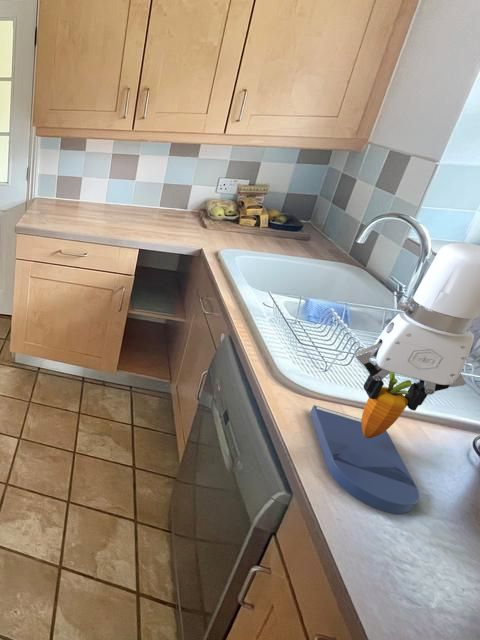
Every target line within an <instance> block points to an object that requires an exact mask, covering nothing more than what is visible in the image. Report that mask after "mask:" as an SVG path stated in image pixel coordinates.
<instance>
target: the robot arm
mask: <svg viewBox="0 0 480 640" xmlns="http://www.w3.org/2000/svg"><path fill="white" fill-rule="evenodd" d="M396 309H397V310H400V312H398V313H397V314H396V316H394V317H393V318H392V320H390V321H389V323H388V324H387V325H386V326H385V328H384V329H383V330H382V331H381V333H380V334H379V336H377V337H378V338H377V339H376V341H375V342H374V344H373V345H370V346H368V347H365V348H363V349H361V350H358V351H356V352H354V356H355V358H356V360H358V362H359V363H360V364H361V365H362V366H363V367H364V368H365V369H366V371H367V372H368V373H369V375H368V377H367V378H366V380H365V382H364V384H363V390H364V391H365V393H366V394H367V396H368V399H369V398H370V399H376V397H377V395H378V394H379V392H380V390H381V388H382V387H384V384H385V383H384V381H383V379H385V378H386V377H387V376H389V375H390V374H389V373H390V372H392V373H395V374H397V375H400V376H403V377H408V378H411V379H415V380H417V382H413V383H411V384H412V385H411V386H410V387H408V389H407V390H406V391H407V392H408V393H409V394H404V396H405V397H406V398H407V400H408V405H407V406H406V407H407V408H408V409H409V410H410V411H413V412H416V410H417V409H418V407H420V406H421V405H422V404H423V403H424V401H425V400H426V398H427V397H428V395H433V394H435V392H438V391H443V390H447V389H449V388H456V387H462V386H465V385H466V384H467V382H466V380H465V378H464V376H463V374H462V373H461V372H462V370H463V368H464V366H465V365H466V362H467V360H468V358H469V356H470V352H471V350H472V347H473V343H474V339H475V334H474V333H473V332H472V331H470V330H471V329H472V327H473V325H474V324H475V322H476V321H477V319H478V318H479V316H480V245H476V244H470V243H461V242H460V243H457V242H453V243H448V244H445V245H443V246H442V247H441V248H439V250H438V251H437V253H436V254H435V257H434V258H433V260H432V262H431V264H430V265H429V267H428V269H427V271H426V272H425V275H424V276H423V278H422V280H421V281H420V283H419V285H418V287H417V289H416V291H415V292H414V294H413V296H412V298H411V297H410V299H409V300H408V301H407V302H406V301H405V302H403V301H399V302H398V303H397V304H396ZM371 358H375V362H374V363H373V361H371V360H370V359H371Z"/></svg>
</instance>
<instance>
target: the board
mask: <svg viewBox="0 0 480 640" xmlns="http://www.w3.org/2000/svg"><path fill="white" fill-rule="evenodd" d="M309 416H310V419H311V422H312V425H313V428H314V431H315V434H316V437H317V440H318V443H319V446H320V449H321V452H322V455H323V458H324V461H325V465H326V467H327V469H328V472H329V474H330V475H331V477H332V478H333V480H334V481H335V482H336V483H337V484H338V485H339V486H340V487H341V488H342V489H343V490H344V491H346V492H347V493H348V494H350V495H351V496H352V497H354V498H355V499H357V500H359V501H360V502H362V503H364V504H366V505H367V506H369V507H372V508H374V509H376V510H378V511H382V512H385V513H389V514H395V515H403V514H407V513H409V512H411V511H412V509H414V507H415V506H416V504H417V503H418V501H419V499H420V492H419V488H418V486H417V485H416V482H415V481H414V479H413V477H412V476H411V473H410V472H409V470H408V468H407V466H406V464H405V463H404V460H403V459H402V457H401V455H400V453H399V452H398V449H397V447H396V446H395V444H394V442H393V440H392V438H391V435H390V434H389V433H388V430H386V431H385V432H384V433H382V434H380V435H378V436H376V437H373V438H365V436H364V435H363V432H362V426H361V420H362V418H359V417H355V416H352V415H349V414H345V413H341V412H338V411H335V410H331V409H329V408H325V407H321V406H318V405H315V404H313V406H312V408H311V410H310V412H309Z"/></svg>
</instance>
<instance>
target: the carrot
mask: <svg viewBox="0 0 480 640" xmlns="http://www.w3.org/2000/svg"><path fill="white" fill-rule="evenodd" d="M388 375H389V382H388V386H387V387H386V386H383V387H382V388H381V390H380V392H379V394H378V395H377V397H376V399H370V398H369V397H368V399H367V401H366V403H365V405H364V407H363V411H362V414H361V415H362V416H361V419H362V420H361V426H362V432H363V435H364V436H365V438H373V437H376V436H378V435H380V434H382V433H384V432H385V431H388V429H389V428H391V427H392V426H393V425H394V424H395V423H396V421H397V420H398V419H399V418H400V417H401V415H402V414H403V413H404V411H405V409H406V408H407V407H408V406H407V405H408V400H407V398H406V397H405V394H409V393H408V392H407V391H408V390H404V389H409V388H410V386H411V385H412V384H413V383H412V380H410V379H408V380H404V381H402V382H400V383H399V384H397V383H398V379H397V378H396V375H395V373H392V372H390V373H389V374H388Z"/></svg>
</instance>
